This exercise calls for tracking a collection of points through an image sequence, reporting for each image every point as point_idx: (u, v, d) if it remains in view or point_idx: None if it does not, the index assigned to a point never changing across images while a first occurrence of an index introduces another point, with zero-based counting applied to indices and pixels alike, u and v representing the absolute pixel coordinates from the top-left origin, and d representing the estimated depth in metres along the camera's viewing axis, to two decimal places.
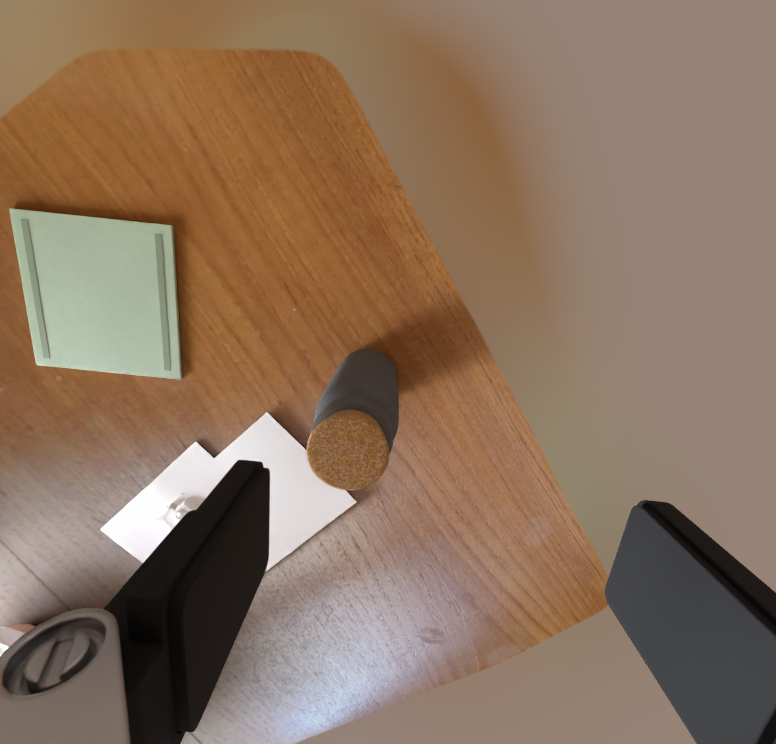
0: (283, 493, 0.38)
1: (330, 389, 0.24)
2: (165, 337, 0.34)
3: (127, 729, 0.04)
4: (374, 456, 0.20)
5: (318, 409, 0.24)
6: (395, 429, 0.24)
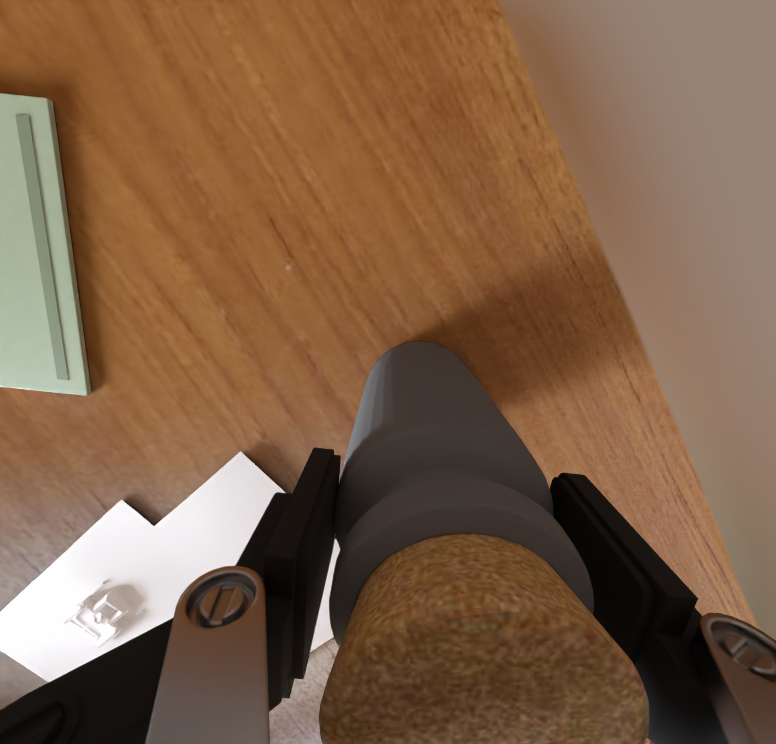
0: None
1: (379, 441, 0.09)
2: (54, 320, 0.19)
3: (267, 684, 0.04)
4: None
5: (346, 494, 0.09)
6: None
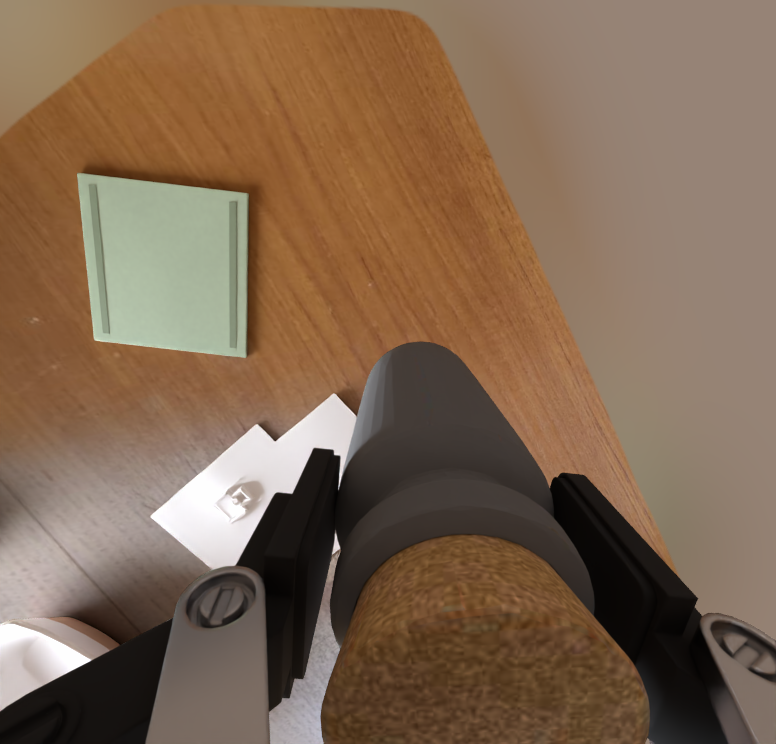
0: None
1: (379, 442, 0.09)
2: (233, 312, 0.32)
3: (267, 685, 0.04)
4: None
5: (347, 495, 0.09)
6: None
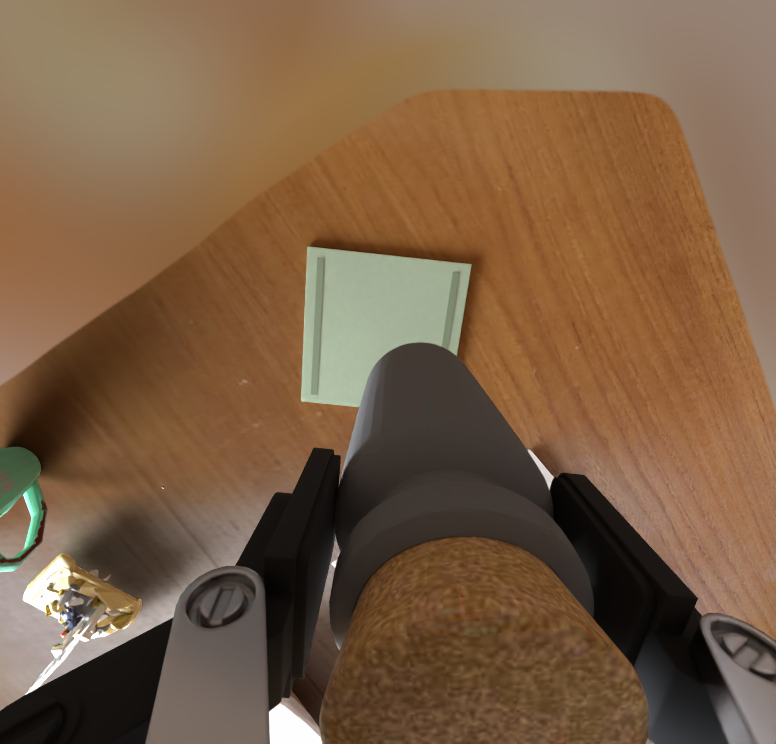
0: None
1: (379, 443, 0.09)
2: None
3: (267, 685, 0.04)
4: None
5: (346, 496, 0.09)
6: None
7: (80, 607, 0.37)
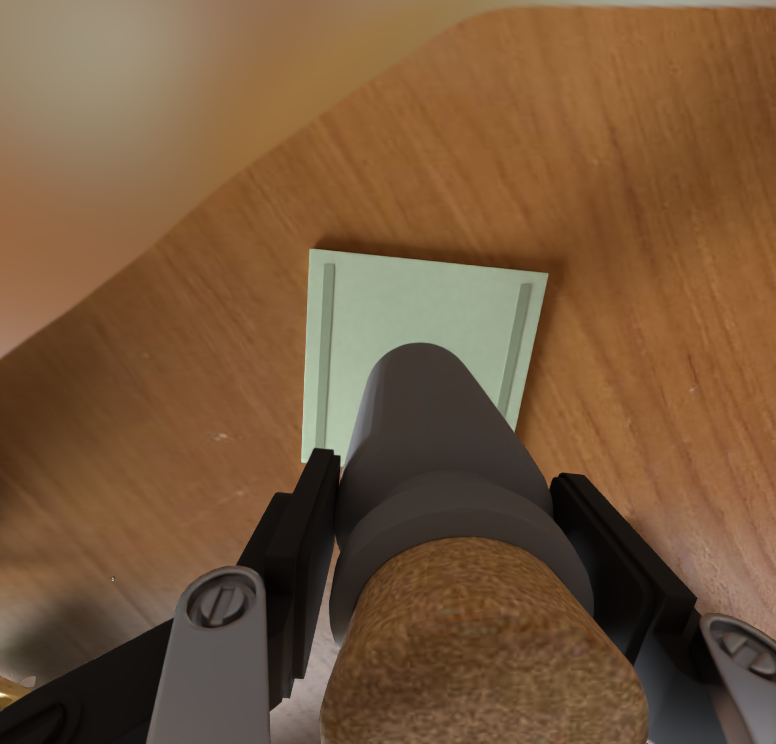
0: None
1: (379, 443, 0.09)
2: None
3: (268, 685, 0.04)
4: None
5: (346, 496, 0.09)
6: None
7: None
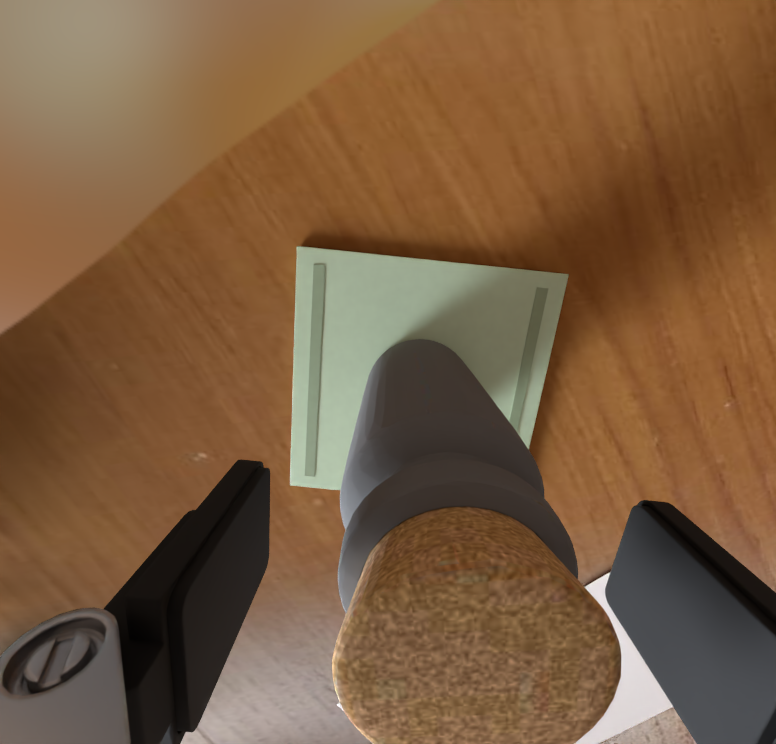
0: (629, 663, 0.25)
1: (382, 429, 0.10)
2: None
3: (127, 729, 0.04)
4: (570, 689, 0.06)
5: (352, 478, 0.10)
6: None
7: None
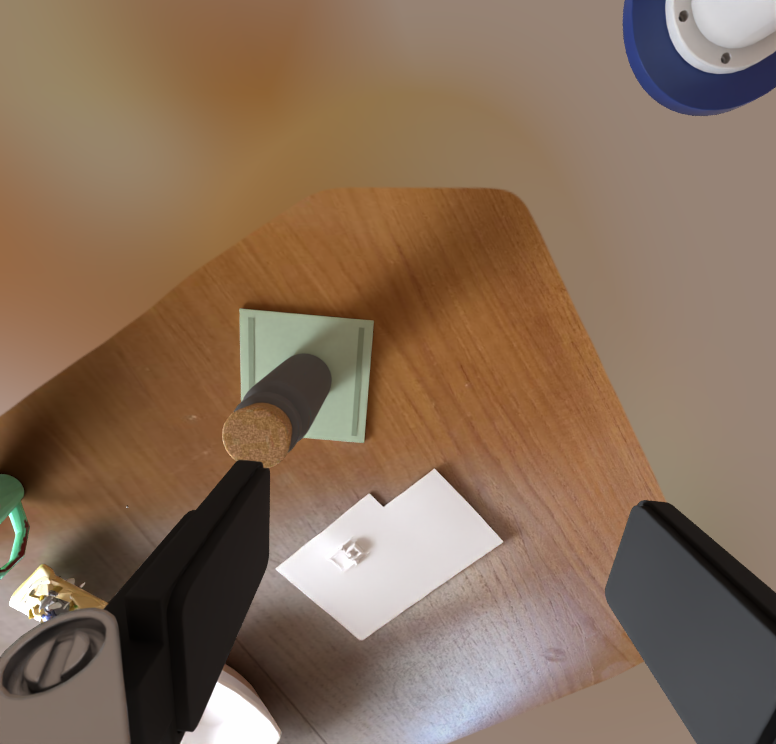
0: (440, 535, 0.44)
1: (252, 387, 0.29)
2: (356, 409, 0.40)
3: (127, 729, 0.04)
4: (277, 440, 0.25)
5: None
6: (309, 420, 0.29)
7: (58, 610, 0.43)
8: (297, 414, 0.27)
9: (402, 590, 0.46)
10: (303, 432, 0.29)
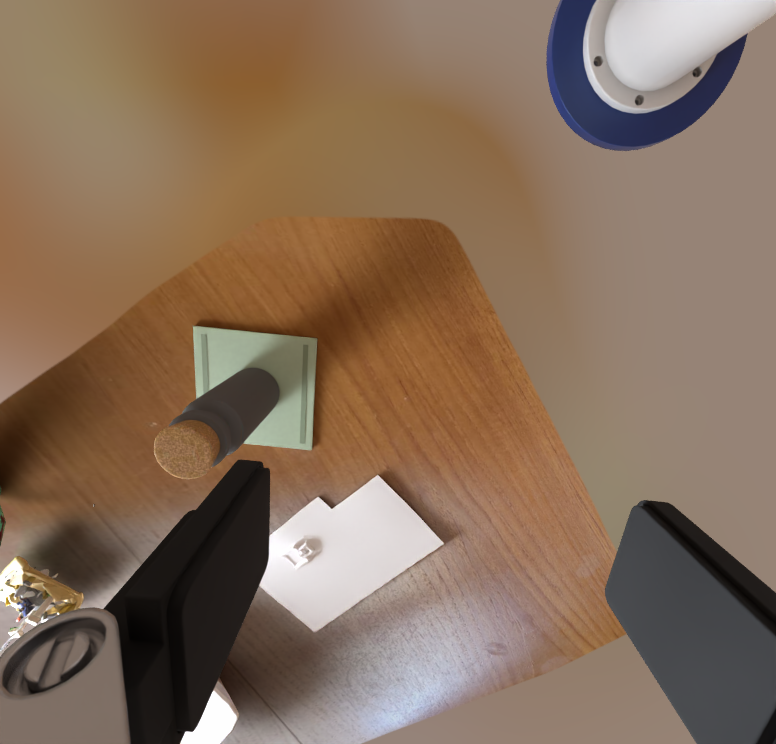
0: (385, 536, 0.47)
1: (190, 403, 0.32)
2: (303, 419, 0.43)
3: (127, 729, 0.04)
4: (202, 454, 0.28)
5: None
6: (241, 434, 0.32)
7: (32, 598, 0.47)
8: (225, 430, 0.30)
9: (351, 586, 0.50)
10: (237, 444, 0.32)
